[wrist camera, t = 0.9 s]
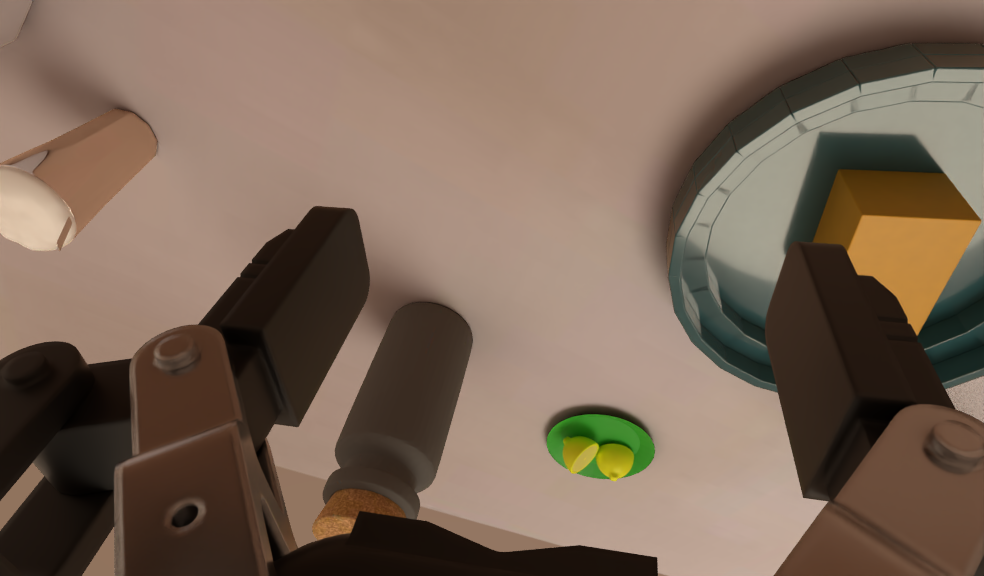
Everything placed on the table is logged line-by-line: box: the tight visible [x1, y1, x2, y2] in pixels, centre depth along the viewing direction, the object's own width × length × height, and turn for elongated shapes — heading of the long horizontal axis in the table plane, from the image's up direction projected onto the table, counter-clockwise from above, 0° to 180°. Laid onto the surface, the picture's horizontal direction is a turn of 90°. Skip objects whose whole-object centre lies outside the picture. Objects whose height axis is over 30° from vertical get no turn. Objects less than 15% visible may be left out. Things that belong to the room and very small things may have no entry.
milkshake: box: [0, 108, 157, 251], centre depth 31 cm, size 4×5×10 cm
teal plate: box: [666, 43, 984, 393], centre depth 30 cm, size 19×19×3 cm
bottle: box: [312, 302, 473, 540], centre depth 36 cm, size 6×6×15 cm
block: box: [813, 169, 981, 335], centre depth 29 cm, size 8×5×4 cm, turn 4°
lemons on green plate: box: [547, 414, 655, 481], centre depth 45 cm, size 8×8×3 cm
